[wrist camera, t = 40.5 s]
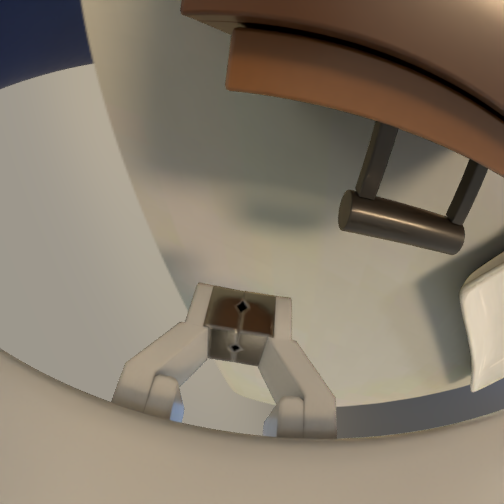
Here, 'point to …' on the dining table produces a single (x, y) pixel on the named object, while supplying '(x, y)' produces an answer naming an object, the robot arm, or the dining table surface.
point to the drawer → (376, 125)
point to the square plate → (485, 322)
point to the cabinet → (389, 34)
